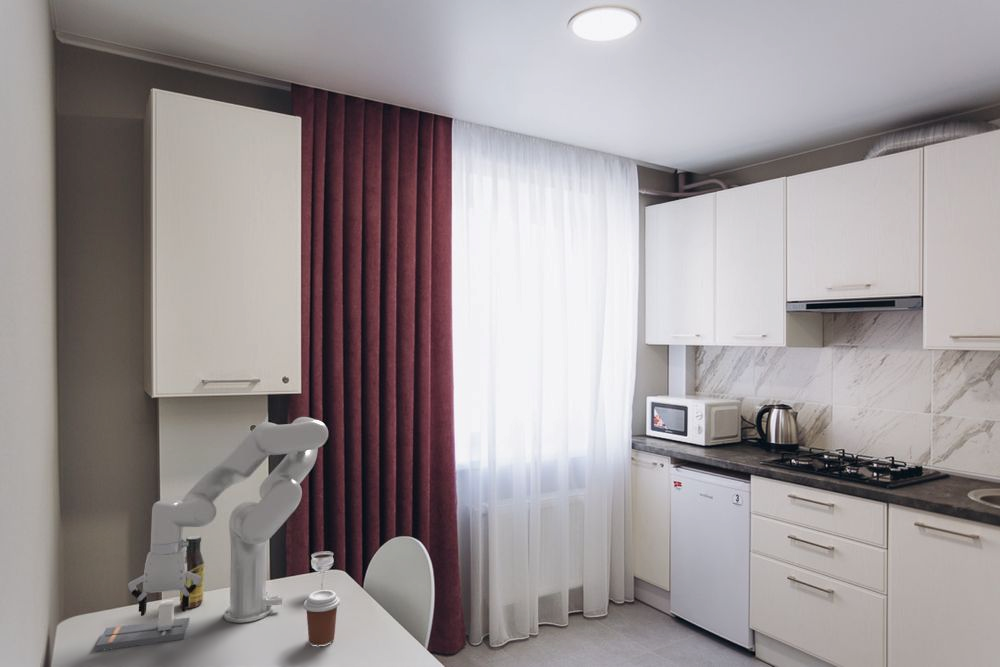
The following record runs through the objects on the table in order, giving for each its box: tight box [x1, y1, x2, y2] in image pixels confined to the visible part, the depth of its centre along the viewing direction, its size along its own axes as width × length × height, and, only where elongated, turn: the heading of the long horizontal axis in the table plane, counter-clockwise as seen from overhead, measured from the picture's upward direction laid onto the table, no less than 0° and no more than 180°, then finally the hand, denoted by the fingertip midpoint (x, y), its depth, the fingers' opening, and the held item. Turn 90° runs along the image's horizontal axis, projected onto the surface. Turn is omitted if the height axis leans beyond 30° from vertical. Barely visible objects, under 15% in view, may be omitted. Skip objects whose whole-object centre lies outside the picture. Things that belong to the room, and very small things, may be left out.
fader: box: [157, 599, 175, 631], centre depth 165 cm, size 3×5×6 cm, turn 19°
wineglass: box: [310, 550, 335, 590], centre depth 192 cm, size 7×7×12 cm
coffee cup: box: [303, 589, 341, 646], centre depth 161 cm, size 9×9×12 cm
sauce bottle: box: [179, 535, 205, 609], centre depth 184 cm, size 6×6×20 cm
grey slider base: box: [95, 617, 191, 652], centre depth 164 cm, size 20×10×2 cm, turn 109°
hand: (163, 611), depth 165 cm, fingers open, 9 cm apart
